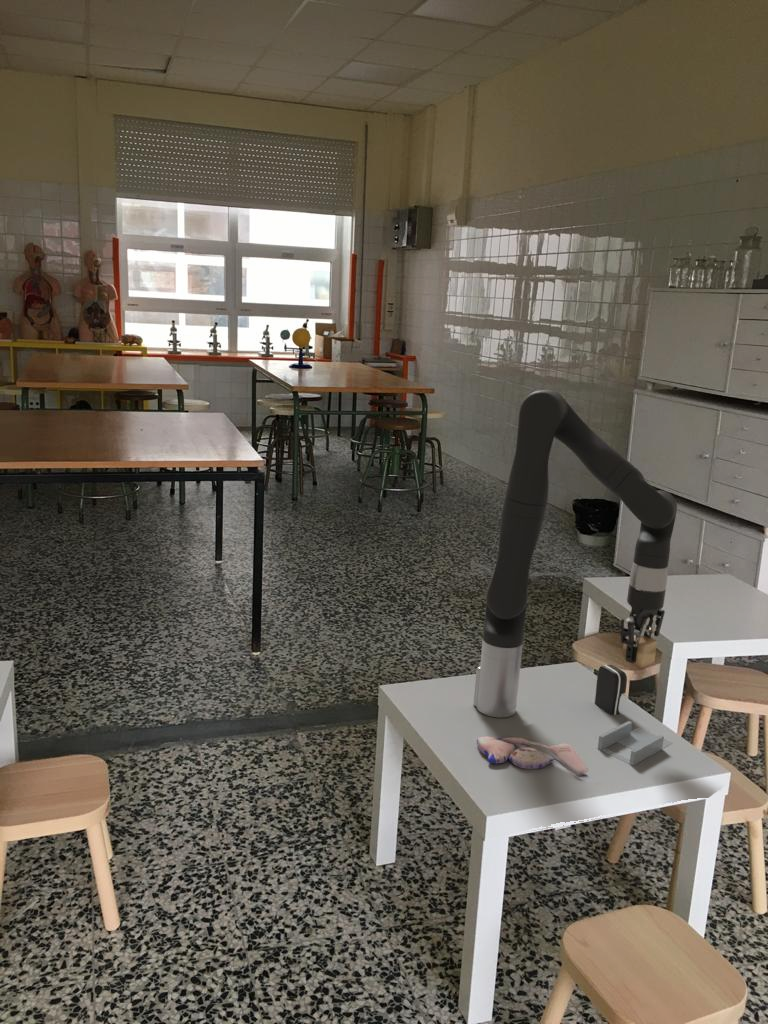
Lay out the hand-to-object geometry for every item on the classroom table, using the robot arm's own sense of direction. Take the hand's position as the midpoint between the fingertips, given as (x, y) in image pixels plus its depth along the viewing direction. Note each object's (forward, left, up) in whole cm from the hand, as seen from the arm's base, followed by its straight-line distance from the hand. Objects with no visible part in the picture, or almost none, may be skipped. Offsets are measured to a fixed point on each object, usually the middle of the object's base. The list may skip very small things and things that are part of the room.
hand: (637, 658), depth 184 cm
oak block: (0, 0, 0) cm, 1 cm away
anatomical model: (-7, -25, -20) cm, 33 cm away
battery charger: (-10, +8, -20) cm, 23 cm away
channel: (+4, -3, -19) cm, 20 cm away
